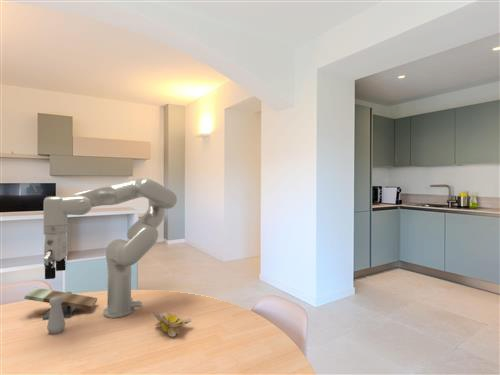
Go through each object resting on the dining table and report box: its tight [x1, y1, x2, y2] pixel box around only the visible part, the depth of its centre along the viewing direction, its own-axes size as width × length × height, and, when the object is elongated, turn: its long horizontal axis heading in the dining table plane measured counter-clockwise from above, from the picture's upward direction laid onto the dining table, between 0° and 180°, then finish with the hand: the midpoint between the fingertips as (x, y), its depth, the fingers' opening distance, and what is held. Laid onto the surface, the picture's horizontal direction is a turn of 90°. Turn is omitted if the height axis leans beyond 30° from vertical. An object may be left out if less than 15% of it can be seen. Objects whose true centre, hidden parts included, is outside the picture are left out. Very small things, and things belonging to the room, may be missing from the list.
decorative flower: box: [151, 310, 193, 337], centre depth 114 cm, size 15×11×10 cm
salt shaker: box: [46, 296, 66, 335], centre depth 112 cm, size 6×6×13 cm
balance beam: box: [23, 287, 98, 311], centre depth 129 cm, size 26×9×2 cm, turn 104°
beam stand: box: [41, 291, 78, 321], centre depth 129 cm, size 10×14×6 cm
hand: (55, 274), depth 112 cm, fingers open, 9 cm apart
